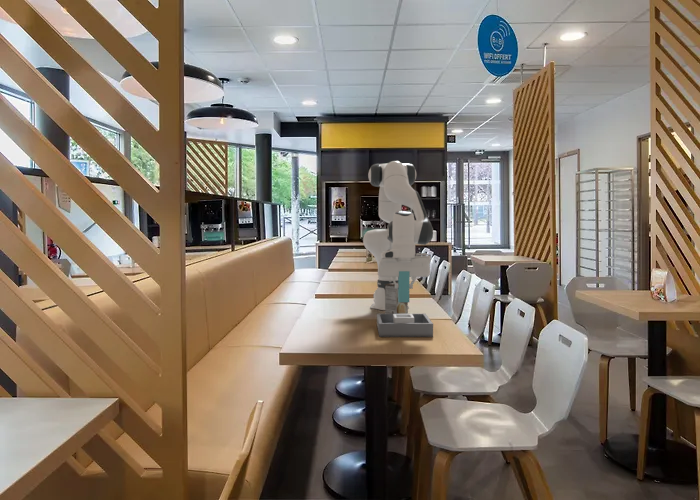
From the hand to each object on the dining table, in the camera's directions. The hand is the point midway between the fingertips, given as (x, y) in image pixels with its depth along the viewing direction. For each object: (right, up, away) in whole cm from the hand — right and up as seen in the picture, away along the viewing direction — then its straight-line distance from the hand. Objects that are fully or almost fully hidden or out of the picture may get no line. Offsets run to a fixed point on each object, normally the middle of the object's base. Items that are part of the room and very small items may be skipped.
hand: (403, 288), depth 192 cm
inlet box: (0, -17, +1) cm, 17 cm away
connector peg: (0, -5, 0) cm, 5 cm away
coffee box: (-1, -16, +22) cm, 27 cm away
